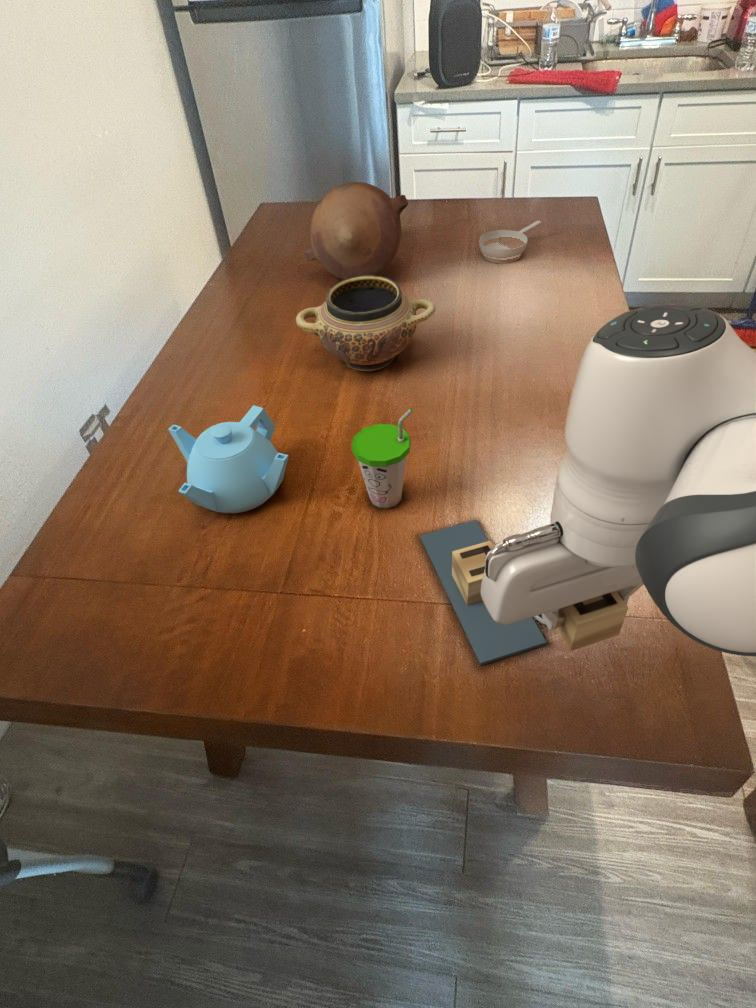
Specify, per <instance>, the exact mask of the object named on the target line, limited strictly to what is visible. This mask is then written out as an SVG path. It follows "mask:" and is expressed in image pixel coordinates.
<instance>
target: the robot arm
mask: <svg viewBox="0 0 756 1008" xmlns="http://www.w3.org/2000/svg"><path fill="white" fill-rule="evenodd" d="M564 440H565V444H566V445H565V446H566V452H565V453H564V455H563V457H562V459H561V461H560V462H559V466H558V469H557V474H556V480H555V485H554V492H553V498H552V503H551V510H550V517H549V518H550V523H549V524H546V525H542V526H540V527H537V528H534V529H532V530H530V531H527V532H524V533H516V534H513V535H510V536H507V537H505V538H504V539H502V541H500V542H499V543H498V544H496V545H494V549H493V550H491V551H489V552H488V554H487V555H486V560H485V570H484V574H483V578H482V583H481V597H482V600H483V602H484V604H485V606H486V608H487V610H488V612H489V614H490V615H491V617H492V618H493V620H494V621H496V622H497V623H499V624H501V625H509V624H512V623H515V622H519V621H522V620H525V619H528V618H531V617H532V618H533V617H534V616H538V615H541V614H542V618H543V620H544V622H545V624H546V627H547V629H548V630H550V631H551V630H554V629H557V628H558V627H561V626H563V625H565V621H566V615H565V613H564V612H563V610H561V608H563V607H566V606H569V605H572V604H576V603H579V602H582V601H585V600H588V599H591V598H595V597H598V596H601V595H604V594H607V593H610V592H613V591H616V592H617V593H618V594H619V596H620V597H621V598H622V600H623V601H624V602H625V604H626V605H627V606H628V602H629V600H630V597H632V596H633V595H634V594H635V593H636V592H637V591H639V589H641V587H642V586H644V587H645V589H646V591H647V593H648V595H649V596H650V598H651V599H652V601H653V603H654V604H655V605H656V607H657V608H658V609H659V611H660V612H661V613H662V614H663V616H664V617H665V618H666V619H667V620H668V621H669V622H670V623H671V624H672V625H673V626H674V627H675V628H676V629H677V630H679V631H680V632H681V633H683V634H684V635H685V636H686V637H688V638H690V639H691V640H693V641H694V642H697V643H698V644H700V645H702V646H704V647H707V648H709V649H712V650H714V651H718V652H721V653H725V654H730V655H734V656H741V657H756V351H755V349H753V348H752V347H750V346H749V345H748V344H747V343H745V341H743V339H741V338H740V336H739V334H737V333H736V331H735V329H734V327H733V326H732V325H731V323H729V322H728V320H727V319H726V318H725V317H723V316H722V315H721V314H719V313H718V312H715V311H714V310H712V309H709V308H705V307H703V306H698V305H693V304H688V303H681V302H680V303H678V302H677V303H676V302H675V303H674V302H668V303H666V302H665V303H656V304H655V303H654V304H649V305H644V306H642V307H639V308H635V309H632V310H629V311H625V312H623V313H621V314H619V315H617V316H616V317H614V318H612V319H611V320H610V321H608V322H607V323H605V324H604V325H603V326H601V328H599V329H598V331H597V332H595V334H594V335H592V337H591V338H590V340H589V342H588V343H587V345H586V348H585V350H584V352H583V354H582V357H581V359H580V362H579V365H578V369H577V371H576V374H575V379H574V383H573V386H572V390H571V395H570V399H569V404H568V407H567V414H566V419H565V425H564ZM545 624H544V625H545Z"/></svg>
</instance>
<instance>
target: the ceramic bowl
mask: <svg viewBox="0 0 756 1008" xmlns="http://www.w3.org/2000/svg"><path fill="white" fill-rule="evenodd" d="M419 309H424V311H423V312H421V313H419V314H417V311H418V310H419ZM435 312H436V305H435V304H434V303H433V302H432V301H430V300H428V299H422V298H420V299H410V298H409V297H407V296H406V295H405V294H404V293H402V289H401V287H400V286H399V284H398V283H397V282H396V281H394V280H393V279H391V278H389V277H385V276H382V275H380V276H374V275H363V276H357V277H352V278H349V279H345V280H340V281H338V282H337V283H335V284H334V285H333V286H331V287H330V288H329V290H328V291H327V293H326V297H325V301H324V302H323V303H322V304H320V305H318V306H316V307H315V306H314V307H306V308H304V309H303V310H301V311H299V313H298V314H297V315H296V317H295V323H296V326H297V327H298V328H299V329H300V330H302V331H304V332H306V333H310V334H312V335H315V336H316V337H318V339H319V341H320V343H321V345H322V346H323V347H324V348H325V349H326V350H327V351H328V352H329V353H330V354H331V355H333V356H334V357H335V358H337V359H339V360H341V361H343V362H344V364H345V365H346V366H347V367H348V368H350V369H353V370H355V371H360V372H373V371H377V370H381V369H383V368H385V367H387V366H389V365H390V364H391V363H392V362H393V361H394V359H395V357H396V356H398V355H399V354H401V353H402V352H403V351H404V350H405V349H406V347H408V345H409V344H410V343H411V341H412V340H413V337H414V335H415V334H416V333H415V332H416V329H417V325H419V324H421V323H423V322H425V321H427V320H429V319H430V318H431V317H432V316H434V314H435ZM309 318H315V322H308V321H307V320H306V319H309Z"/></svg>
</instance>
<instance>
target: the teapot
mask: <svg viewBox="0 0 756 1008" xmlns="http://www.w3.org/2000/svg"><path fill="white" fill-rule="evenodd" d="M275 428H276V425H275V423H274V422H273V420H272V418H271V417H270V415H269V414H268V412H267V411H266V409H265V408H264V407H262V406H258V405H254V404H253V405H252V406H251V407H250V409H249V410H248V411H247V412H246V414H245V415H244V416H243V417H242V419H240V421H239V422H238V421H226V422H225V421H224V422H220V423H216V424H214V425H211V426H210V427H208V428H206V429H205V430H203V432H201V433H200V435H199V436H198V437H197V438H196V437H194V436H193V435H192V434H190V433H189V432H188V431H187V430H185V429H184V428H183V427H182V426H180V425H177V424H172V425H171V426H170V427H169V428H168V432H169V434H170V435H171V437H172V439H173V440H174V442H175V444H176V446H177V447H178V449H179V451H180V452H181V454H182V456H183V457H184V460H185V461H186V463H187V465H186V482H184V483H182V486H181V487H180V488H179V490H178V491H177V492H178V494H180V495H182V496H183V497H184V498H186V499H188V500H189V501H191V502H192V503H193V504H195V505H197V506H200V507H202V508H205V509H207V510H209V511H213V512H216V513H222V514H240V513H241V514H242V513H246V512H248V511H251V510H254V509H256V508H258V507H260V506H262V505H263V504H264V503H265V502H267V501H268V500H269V499H270V498H271V497H272V496H273V495H274V494H275V492H276V491H277V490H278V489H279V487H280V485H281V484H282V482H283V481H284V477H285V473H286V469H287V464H288V461H289V454H286V453H281V452H278V450H277V449H276V447H275V446H274V444H273V443H272V442H271V441H272V437H273V435H274V432H275Z"/></svg>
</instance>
